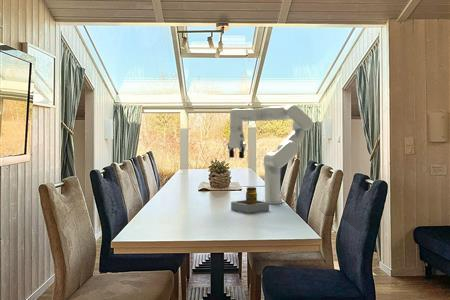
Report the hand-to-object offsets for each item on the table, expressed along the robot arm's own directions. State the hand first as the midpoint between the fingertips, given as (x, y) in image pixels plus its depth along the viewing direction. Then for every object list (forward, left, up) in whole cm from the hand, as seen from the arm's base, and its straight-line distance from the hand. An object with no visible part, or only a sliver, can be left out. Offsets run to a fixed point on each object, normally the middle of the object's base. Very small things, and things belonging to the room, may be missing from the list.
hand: (236, 157), depth 245 cm
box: (+6, +20, -28) cm, 35 cm away
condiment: (+6, +20, -28) cm, 35 cm away
